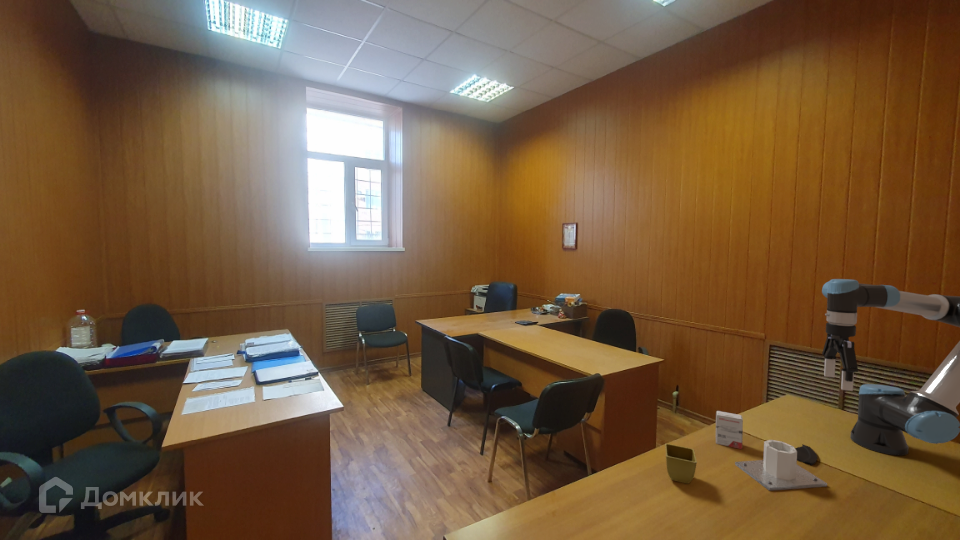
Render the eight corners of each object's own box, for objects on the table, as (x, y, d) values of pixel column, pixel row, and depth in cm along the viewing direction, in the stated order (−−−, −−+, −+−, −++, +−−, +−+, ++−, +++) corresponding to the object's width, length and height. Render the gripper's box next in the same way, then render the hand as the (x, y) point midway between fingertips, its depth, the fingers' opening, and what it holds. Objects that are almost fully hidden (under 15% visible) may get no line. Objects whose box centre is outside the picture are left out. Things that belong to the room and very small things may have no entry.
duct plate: (787, 461, 132) (787, 442, 132) (826, 486, 118) (828, 465, 118) (735, 464, 131) (735, 445, 130) (769, 490, 117) (770, 469, 116)
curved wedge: (825, 455, 136) (825, 451, 136) (812, 468, 129) (812, 463, 129) (796, 445, 143) (796, 441, 143) (783, 456, 136) (783, 452, 136)
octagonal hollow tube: (761, 462, 130) (762, 438, 129) (790, 468, 126) (791, 443, 126) (767, 475, 122) (768, 449, 122) (798, 482, 119) (799, 455, 118)
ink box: (741, 443, 144) (742, 414, 143) (742, 449, 140) (743, 419, 139) (715, 438, 149) (716, 409, 148) (715, 443, 144) (716, 414, 144)
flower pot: (693, 474, 126) (694, 448, 125) (696, 489, 118) (696, 462, 117) (664, 467, 129) (665, 443, 129) (665, 482, 121) (666, 456, 121)
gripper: (812, 316, 141) (810, 370, 143) (843, 330, 119) (840, 394, 120) (838, 317, 138) (835, 373, 139) (875, 332, 115) (871, 398, 117)
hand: (837, 383), depth 130 cm, fingers open, 13 cm apart
